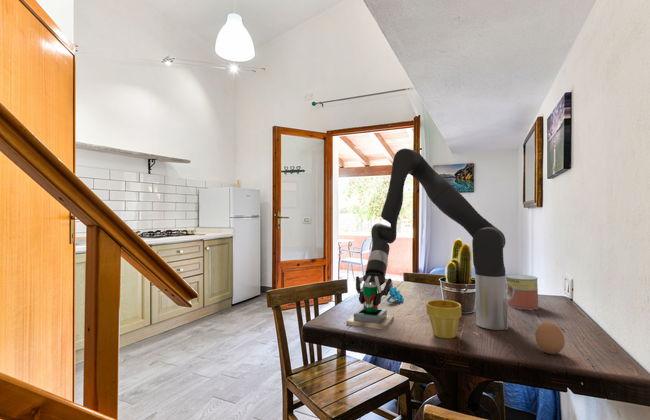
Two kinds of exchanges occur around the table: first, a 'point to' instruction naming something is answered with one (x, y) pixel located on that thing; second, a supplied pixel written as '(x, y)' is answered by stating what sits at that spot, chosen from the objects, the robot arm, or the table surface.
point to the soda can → (370, 298)
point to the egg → (549, 338)
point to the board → (383, 325)
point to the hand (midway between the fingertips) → (369, 303)
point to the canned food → (522, 291)
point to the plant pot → (444, 317)
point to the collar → (370, 316)
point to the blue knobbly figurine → (395, 294)
